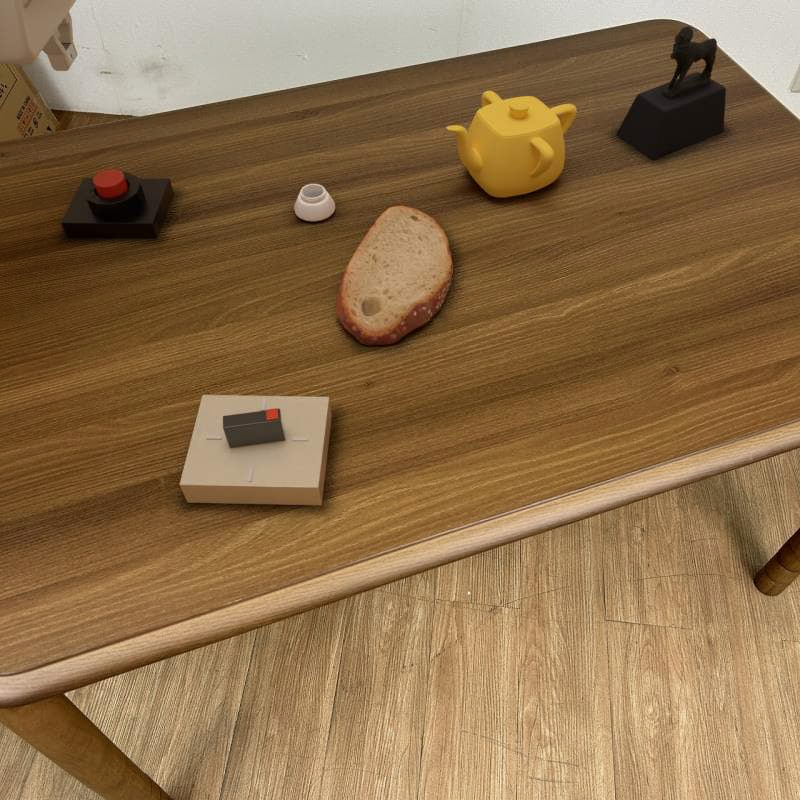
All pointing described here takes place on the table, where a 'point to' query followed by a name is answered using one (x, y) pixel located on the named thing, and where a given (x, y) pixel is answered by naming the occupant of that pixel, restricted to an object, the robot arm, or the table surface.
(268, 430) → the red-tipped dark block
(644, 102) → the sculpture
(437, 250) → the slice of bread
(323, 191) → the lidless jar
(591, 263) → the table surface
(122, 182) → the button
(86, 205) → the control block
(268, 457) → the panel
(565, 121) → the teapot
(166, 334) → the table surface
